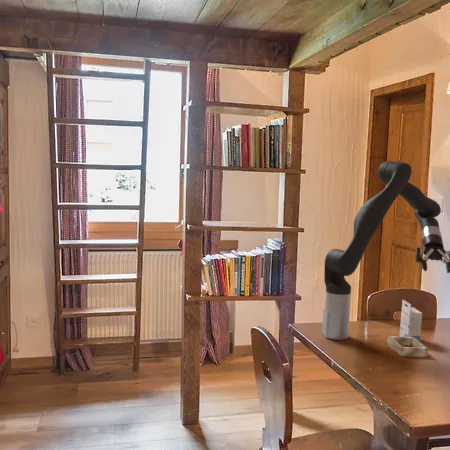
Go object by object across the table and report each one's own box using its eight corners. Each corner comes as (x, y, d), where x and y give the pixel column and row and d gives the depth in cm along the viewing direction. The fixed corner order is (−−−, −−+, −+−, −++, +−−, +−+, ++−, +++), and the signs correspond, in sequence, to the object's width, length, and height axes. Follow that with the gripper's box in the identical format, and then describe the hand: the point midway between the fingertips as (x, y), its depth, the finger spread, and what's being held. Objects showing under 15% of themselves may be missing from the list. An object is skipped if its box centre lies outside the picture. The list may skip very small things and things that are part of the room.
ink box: (420, 343, 188) (423, 305, 187) (407, 343, 188) (410, 304, 186) (411, 336, 197) (414, 299, 195) (398, 336, 196) (401, 299, 195)
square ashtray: (400, 356, 174) (401, 347, 173) (387, 344, 186) (387, 336, 186) (427, 356, 174) (428, 348, 174) (412, 344, 186) (413, 336, 186)
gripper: (415, 232, 204) (420, 263, 193) (452, 234, 202) (459, 266, 191) (411, 244, 210) (416, 275, 199) (448, 247, 208) (454, 278, 197)
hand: (437, 270), depth 195 cm, fingers open, 8 cm apart
